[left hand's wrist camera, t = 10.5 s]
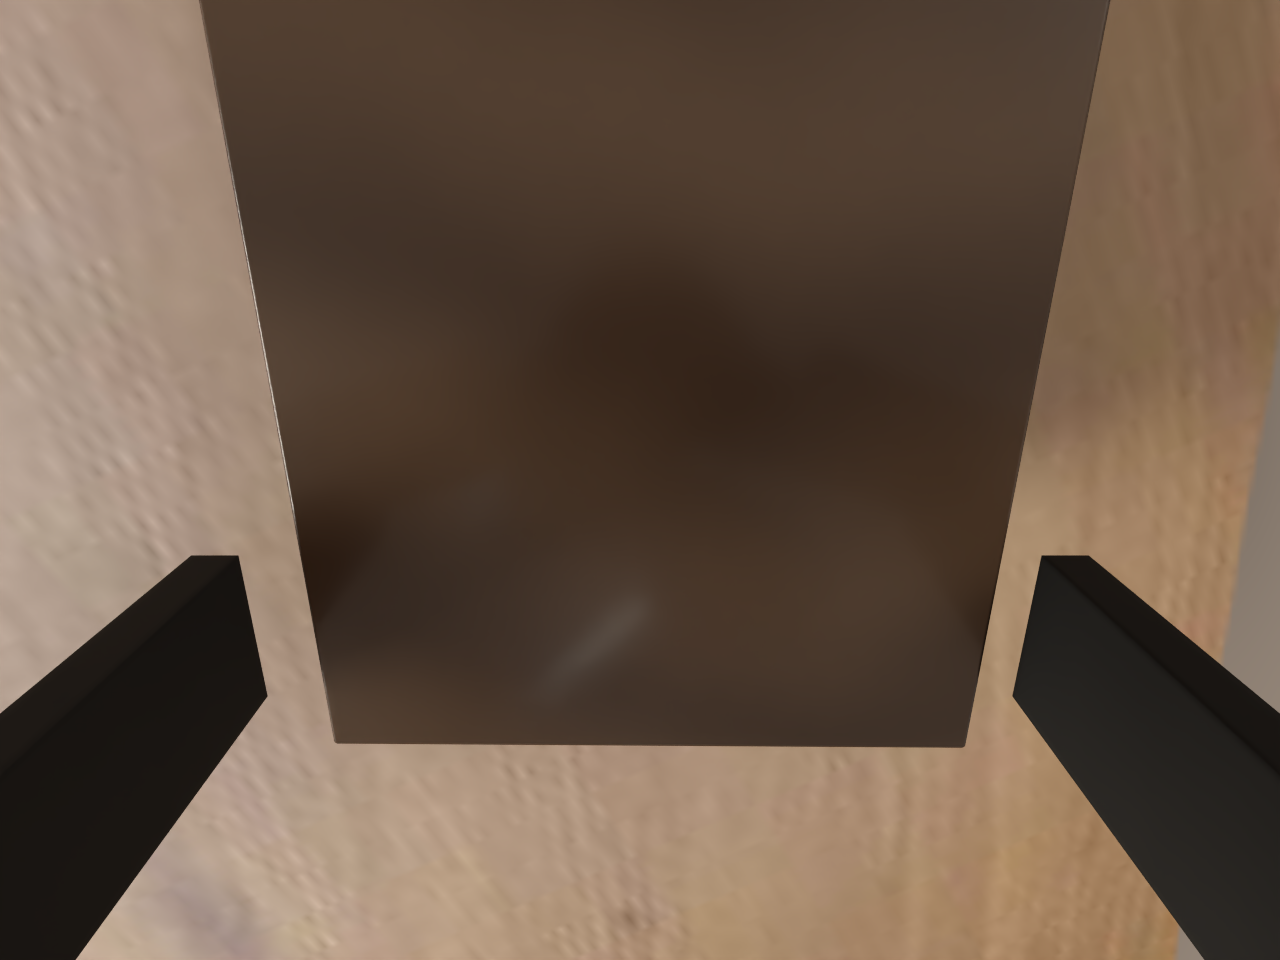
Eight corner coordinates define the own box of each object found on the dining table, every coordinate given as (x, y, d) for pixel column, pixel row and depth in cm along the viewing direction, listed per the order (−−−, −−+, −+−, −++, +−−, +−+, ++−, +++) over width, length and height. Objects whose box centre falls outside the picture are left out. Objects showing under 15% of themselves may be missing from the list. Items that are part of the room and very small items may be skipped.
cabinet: (396, -144, 17) (102, -519, 8) (907, -147, 17) (1215, -528, 8) (459, 515, 23) (333, 745, 14) (837, 516, 23) (966, 749, 13)
